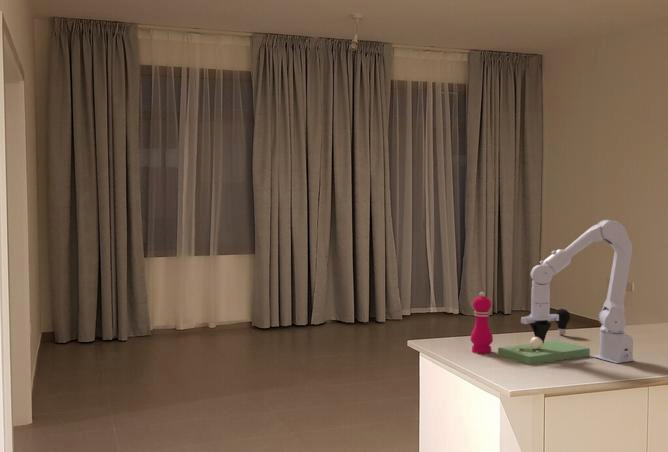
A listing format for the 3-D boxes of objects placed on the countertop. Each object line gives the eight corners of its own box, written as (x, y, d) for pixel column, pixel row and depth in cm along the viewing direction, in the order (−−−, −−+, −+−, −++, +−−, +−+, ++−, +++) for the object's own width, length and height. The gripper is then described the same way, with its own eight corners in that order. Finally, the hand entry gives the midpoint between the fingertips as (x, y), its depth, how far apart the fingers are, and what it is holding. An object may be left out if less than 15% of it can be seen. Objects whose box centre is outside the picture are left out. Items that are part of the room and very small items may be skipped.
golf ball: (536, 339, 211) (535, 351, 212) (545, 337, 213) (545, 349, 213) (527, 336, 215) (527, 348, 215) (536, 334, 217) (536, 346, 217)
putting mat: (589, 355, 215) (589, 348, 215) (529, 364, 203) (529, 356, 203) (556, 347, 228) (556, 340, 228) (498, 355, 216) (498, 347, 216)
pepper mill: (493, 354, 217) (493, 293, 217) (470, 353, 219) (470, 293, 218) (492, 349, 224) (492, 290, 224) (470, 348, 226) (470, 290, 225)
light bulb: (567, 334, 251) (568, 307, 250) (571, 337, 245) (572, 310, 245) (551, 333, 251) (552, 307, 251) (555, 337, 245) (555, 310, 245)
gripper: (548, 299, 221) (547, 339, 222) (514, 302, 215) (513, 343, 215) (564, 302, 215) (563, 344, 216) (530, 305, 208) (529, 348, 209)
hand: (539, 344), depth 215 cm, fingers closed, pressing on golf ball
